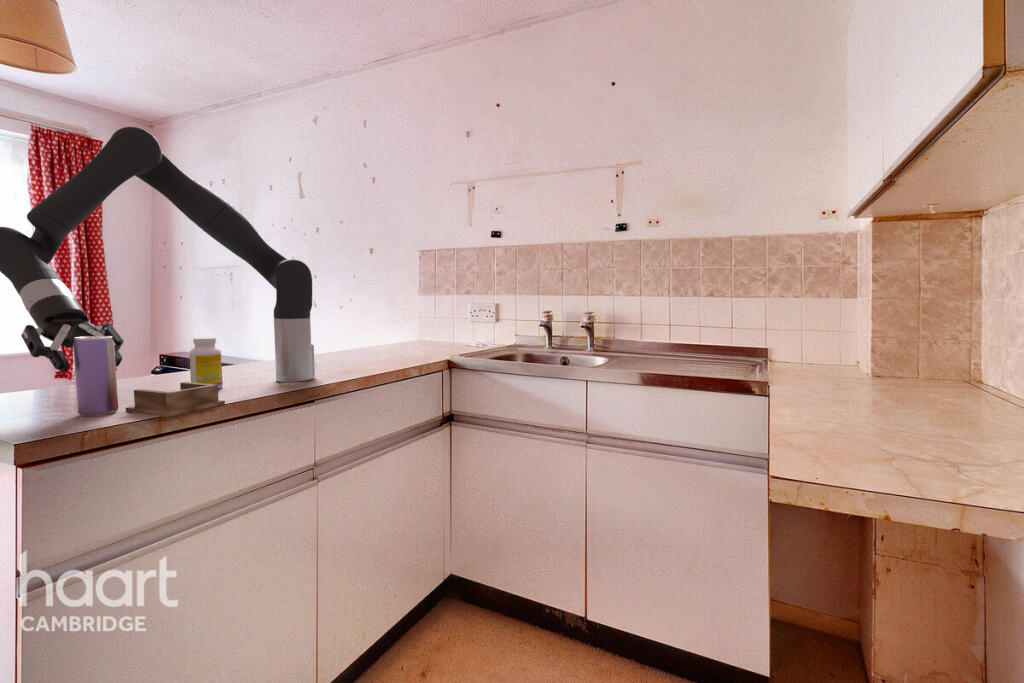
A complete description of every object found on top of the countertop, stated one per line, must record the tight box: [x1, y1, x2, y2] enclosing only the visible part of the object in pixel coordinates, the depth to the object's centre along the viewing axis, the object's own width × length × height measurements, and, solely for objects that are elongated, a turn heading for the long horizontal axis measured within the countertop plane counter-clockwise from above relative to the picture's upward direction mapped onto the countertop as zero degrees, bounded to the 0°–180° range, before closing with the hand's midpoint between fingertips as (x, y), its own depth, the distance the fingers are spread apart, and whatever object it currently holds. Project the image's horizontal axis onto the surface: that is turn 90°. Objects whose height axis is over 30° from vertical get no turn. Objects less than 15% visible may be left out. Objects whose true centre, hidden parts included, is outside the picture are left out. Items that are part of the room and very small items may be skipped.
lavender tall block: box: [72, 336, 119, 418], centre depth 92 cm, size 6×6×15 cm
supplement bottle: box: [188, 337, 224, 390], centre depth 118 cm, size 7×7×13 cm
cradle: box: [125, 381, 226, 418], centre depth 98 cm, size 12×12×4 cm
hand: (93, 366), depth 92 cm, fingers open, 8 cm apart
